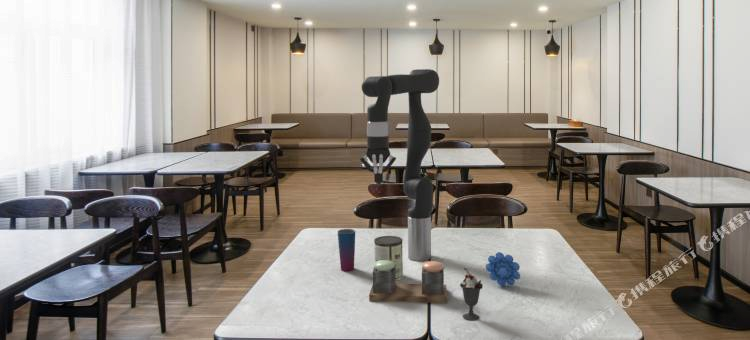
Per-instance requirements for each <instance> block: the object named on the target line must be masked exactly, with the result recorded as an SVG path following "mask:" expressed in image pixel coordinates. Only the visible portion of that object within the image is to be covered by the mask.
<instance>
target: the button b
mask: <svg viewBox="0 0 750 340" xmlns="http://www.w3.org/2000/svg"><path fill="white" fill-rule="evenodd" d="M422 266H423V270H425V271H426V272H429V273H439V271H441V270H442V269H443V268H444V265H443V263H442V262H440V261H435V260H427V261H424V262H423V263H422Z"/></svg>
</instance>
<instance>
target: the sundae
mask: <svg viewBox="0 0 750 340" xmlns="http://www.w3.org/2000/svg"><path fill="white" fill-rule="evenodd" d="M463 270H465V272H466V275H464V278H463V280H462V281H461V283H460V284H459V285H460V288H461V289H462V294H463V296H462V297H463V300H464V303H465V304H466V305H467V306H468V309H469V310H468V312H467V313H463V315H462V318H463V319H464V320H466V321H471V322H472V321H477V320H479V319H480V315H478V314H477V313H475V312H474V307H475V306H476V305H477V304H478V303H479V298H480V291H481V289H482V290H483V284H482V280H481V279H480V280H479V281H478V278H477V277H475V276H474V275H472V274H470V272H469V271H468V269H467V268H466V267H464V268H463Z"/></svg>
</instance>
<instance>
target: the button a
mask: <svg viewBox="0 0 750 340" xmlns="http://www.w3.org/2000/svg"><path fill="white" fill-rule="evenodd" d="M374 267H375V269H376V270H377V271H385V272H391V270H392V269H393V268H394V262H392V261H389V260H380V261H376V262H375V261H374Z"/></svg>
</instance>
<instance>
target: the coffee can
mask: <svg viewBox="0 0 750 340" xmlns="http://www.w3.org/2000/svg"><path fill="white" fill-rule="evenodd" d="M373 242H374V263H375V262H376V261H380V260H389V261H392V262H394V266H396V282H397V281H399V280H401V279H403V277H404V274H403V270H404V268H403V267H404V266H403V238H402V237H400V236H397V235H381V236H378V237H375V238H374V240H373Z"/></svg>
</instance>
